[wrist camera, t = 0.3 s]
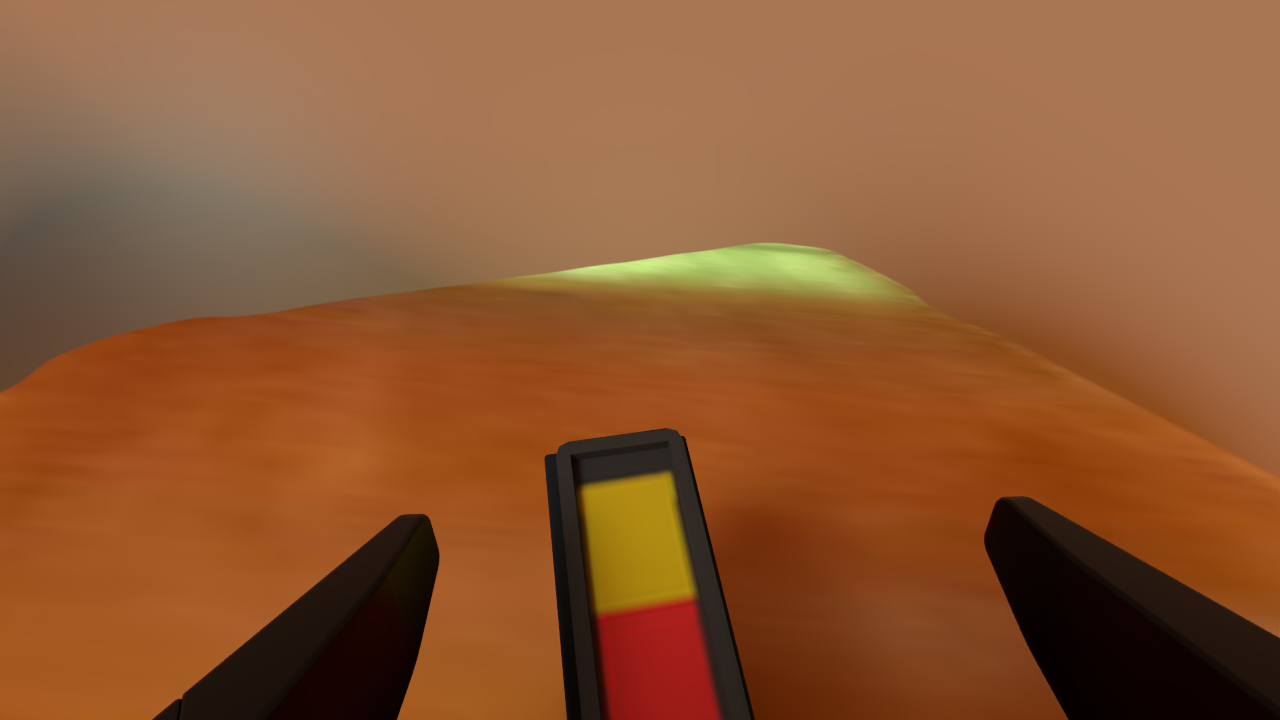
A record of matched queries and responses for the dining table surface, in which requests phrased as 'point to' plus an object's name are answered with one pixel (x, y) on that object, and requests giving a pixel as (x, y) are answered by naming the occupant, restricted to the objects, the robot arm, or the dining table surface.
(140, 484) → the dining table surface
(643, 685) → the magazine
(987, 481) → the dining table surface
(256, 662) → the robot arm
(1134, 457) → the dining table surface
